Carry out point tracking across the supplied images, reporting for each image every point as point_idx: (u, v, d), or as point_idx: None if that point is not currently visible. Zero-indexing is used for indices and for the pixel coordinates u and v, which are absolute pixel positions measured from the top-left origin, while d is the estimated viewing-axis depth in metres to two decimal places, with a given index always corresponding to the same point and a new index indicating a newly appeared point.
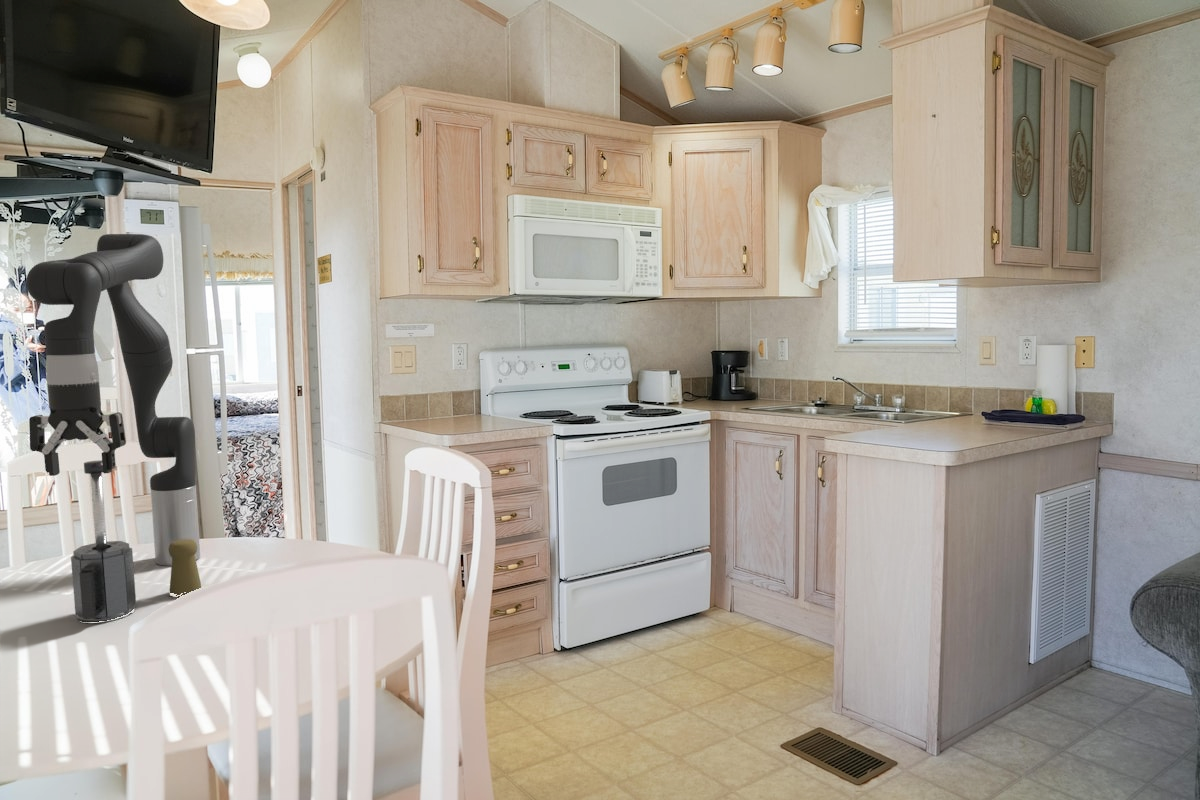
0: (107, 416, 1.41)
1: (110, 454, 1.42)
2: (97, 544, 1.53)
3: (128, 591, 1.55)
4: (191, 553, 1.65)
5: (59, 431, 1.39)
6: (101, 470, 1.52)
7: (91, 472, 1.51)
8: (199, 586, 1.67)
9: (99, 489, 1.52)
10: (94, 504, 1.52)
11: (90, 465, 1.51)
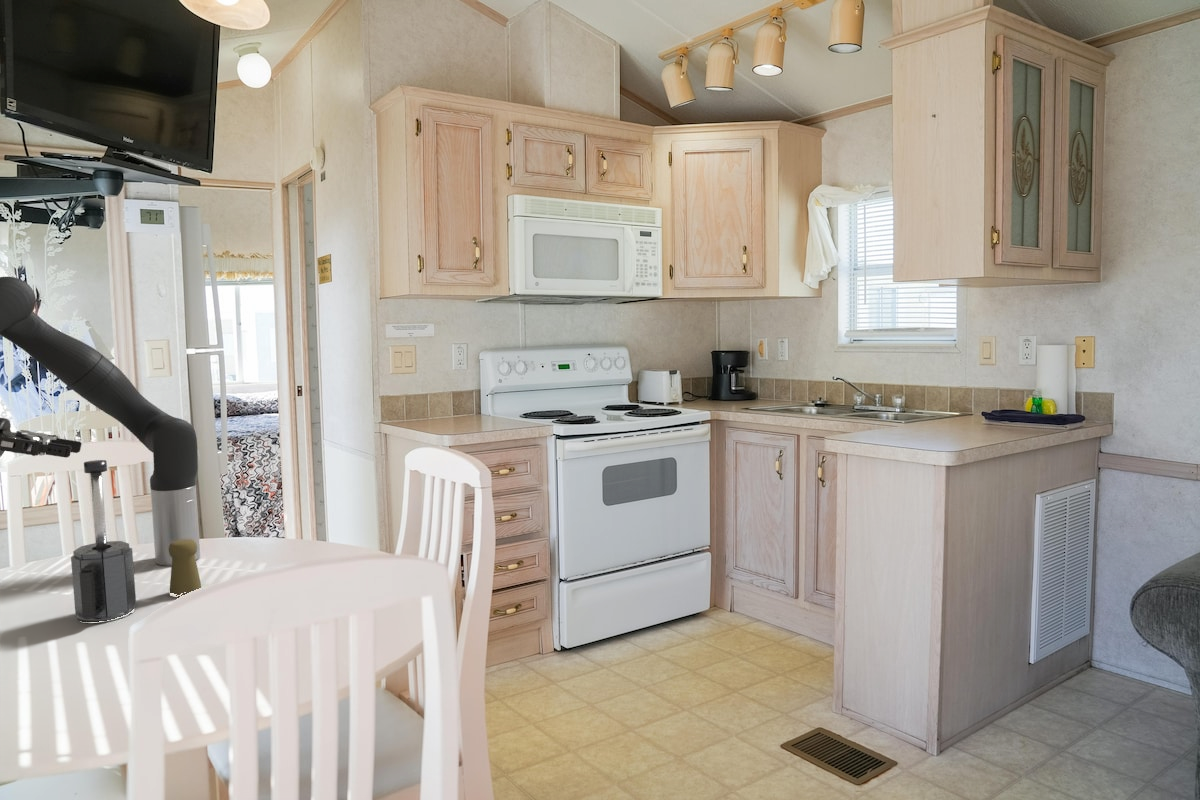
0: None
1: (47, 452, 1.49)
2: (97, 544, 1.53)
3: (128, 591, 1.55)
4: (191, 553, 1.65)
5: None
6: (101, 470, 1.52)
7: (91, 472, 1.51)
8: (199, 586, 1.67)
9: (99, 489, 1.52)
10: (94, 504, 1.52)
11: (90, 465, 1.51)
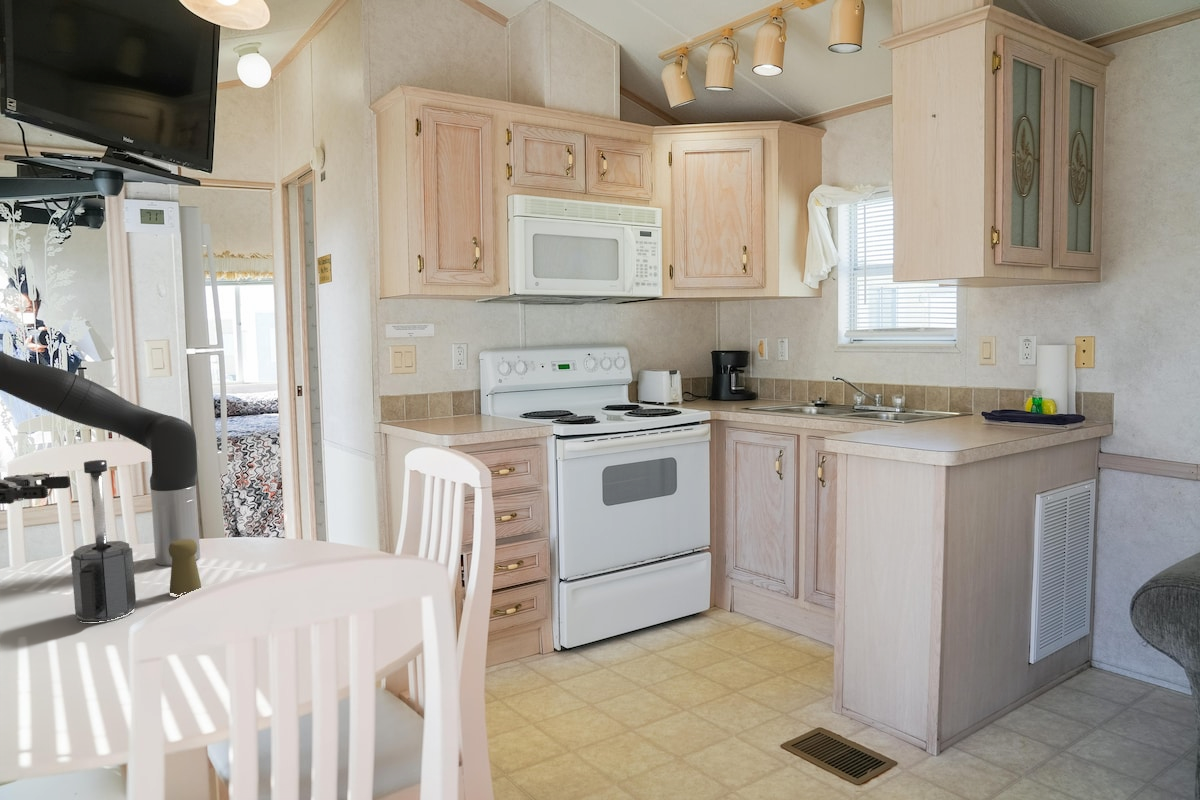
0: None
1: (24, 497, 1.46)
2: (97, 544, 1.53)
3: (128, 591, 1.55)
4: (191, 553, 1.65)
5: None
6: (101, 470, 1.52)
7: (91, 472, 1.51)
8: (199, 586, 1.67)
9: (99, 489, 1.52)
10: (94, 504, 1.52)
11: (90, 465, 1.51)
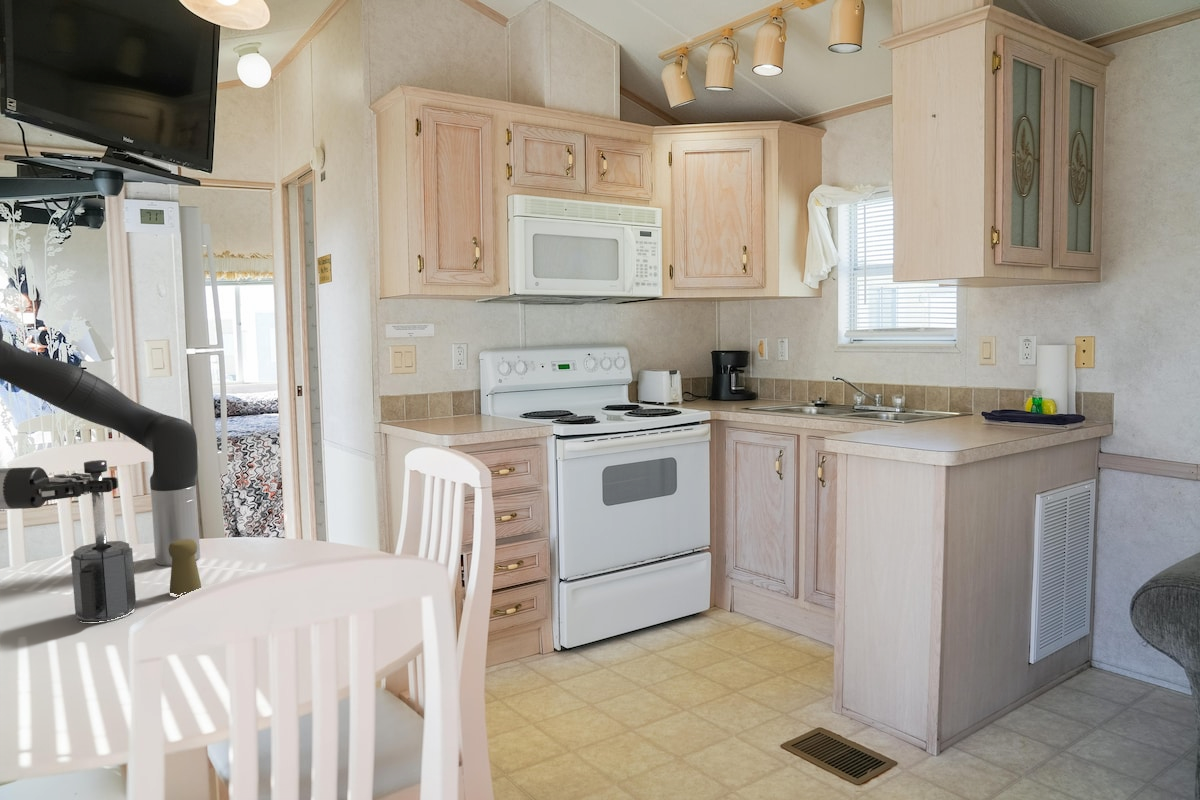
0: None
1: (90, 491, 1.51)
2: (97, 544, 1.53)
3: (128, 591, 1.55)
4: (191, 553, 1.65)
5: (67, 493, 1.53)
6: (101, 470, 1.52)
7: (91, 472, 1.51)
8: (199, 586, 1.67)
9: None
10: (94, 504, 1.52)
11: (90, 465, 1.51)
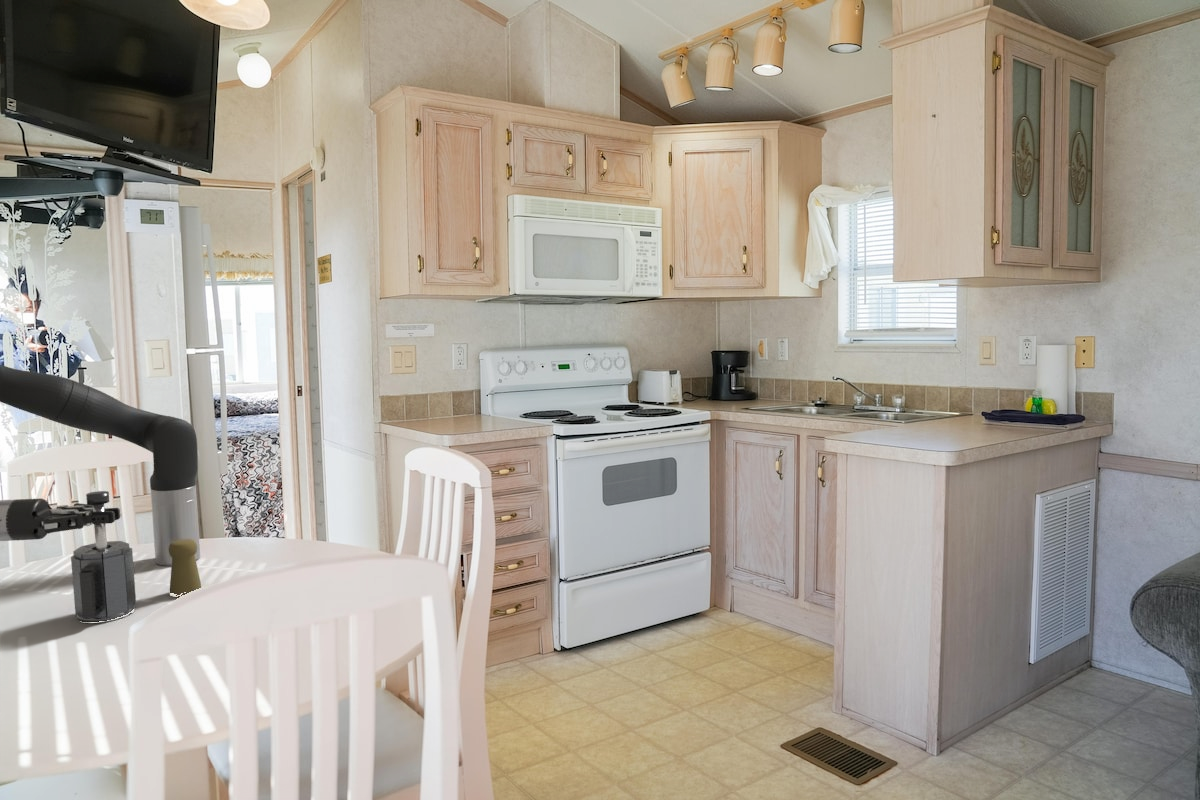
0: None
1: (93, 522, 1.51)
2: None
3: (128, 591, 1.55)
4: (191, 553, 1.65)
5: None
6: (103, 501, 1.52)
7: (93, 503, 1.51)
8: (199, 586, 1.67)
9: None
10: (96, 535, 1.53)
11: (92, 496, 1.51)
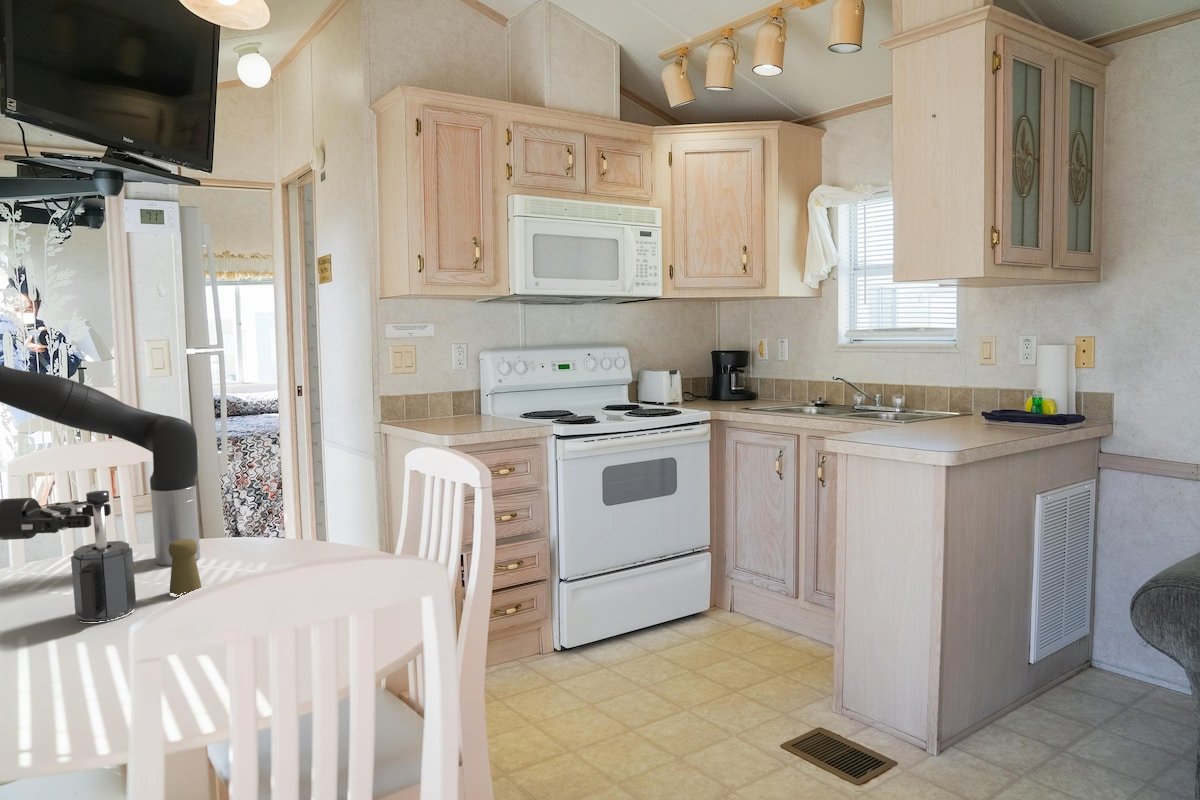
0: None
1: (68, 526, 1.48)
2: None
3: (128, 591, 1.55)
4: (191, 553, 1.65)
5: None
6: (103, 501, 1.52)
7: (93, 503, 1.51)
8: (199, 586, 1.67)
9: (101, 519, 1.53)
10: (96, 534, 1.53)
11: (92, 496, 1.51)
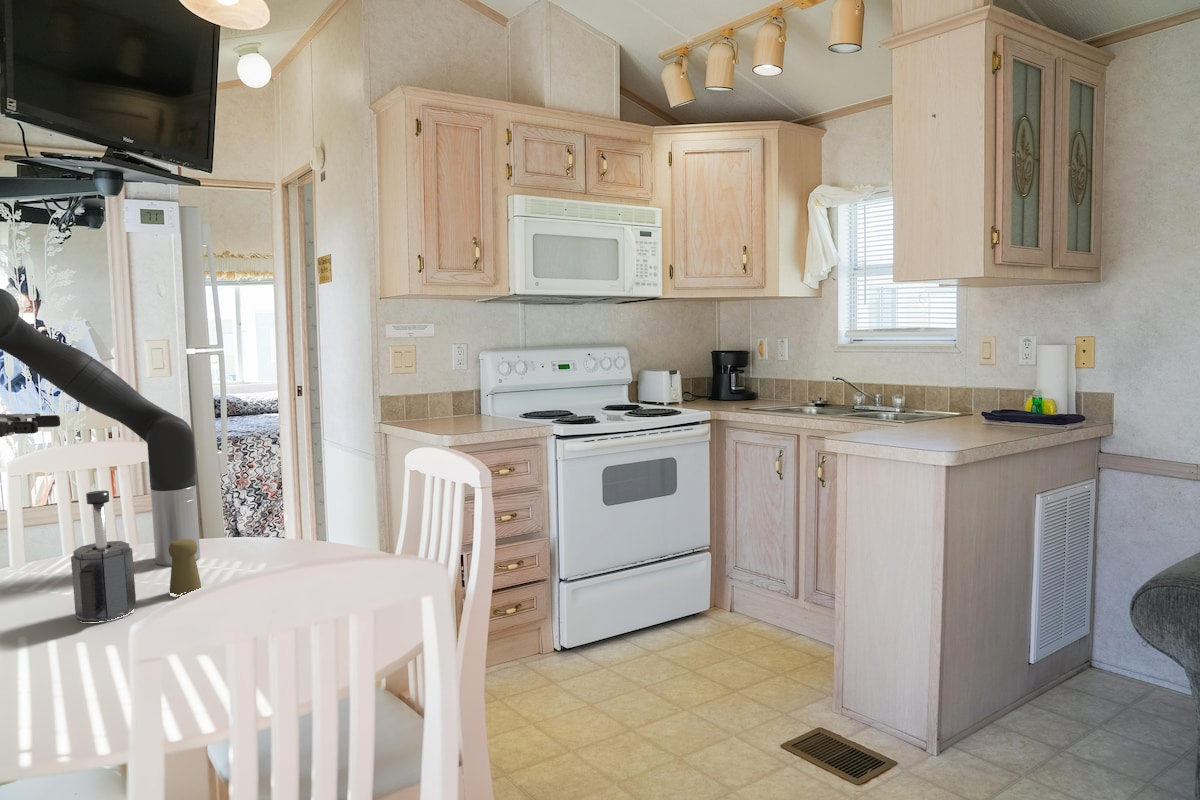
0: None
1: (15, 431, 1.50)
2: None
3: (128, 591, 1.55)
4: (191, 553, 1.65)
5: None
6: (103, 501, 1.52)
7: (93, 503, 1.51)
8: (199, 586, 1.67)
9: (101, 519, 1.53)
10: (96, 534, 1.53)
11: (92, 496, 1.51)
